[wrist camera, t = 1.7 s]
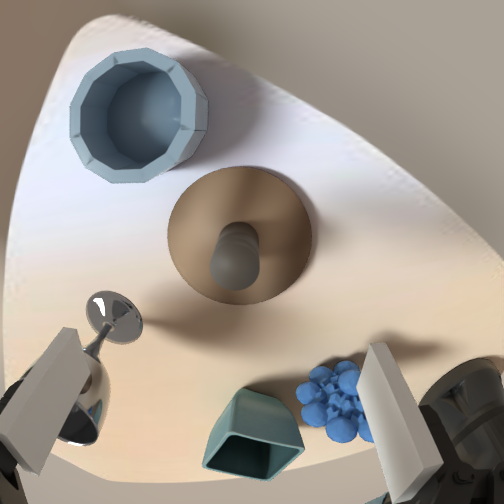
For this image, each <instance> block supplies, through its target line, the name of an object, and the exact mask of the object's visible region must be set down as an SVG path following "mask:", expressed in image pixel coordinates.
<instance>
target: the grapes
mask: <svg viewBox="0 0 504 504" xmlns="http://www.w3.org/2000/svg"><path fill="white" fill-rule="evenodd" d="M360 374H361V371H360V369H359V367H358V366H357V365H356V364H355V363H353V362H351V361H341V362H339V363H337V364H336V365H335V366H334V371H332V370H331V369H330V368H327V367H324V366H318V367H316V368H314V369H313V370H312V371H311V372H310V375H309V379H310V382H304V383H301V384H300V385H299V386H298V387H297V390H296V397H297V399H298V400H299V401H300V402H301V403H302V404H305V406H303V408H302V411H301V416H302V419H303V421H304V422H305V423H306V424H307V425H310V426H313V427H322V426H326V428H325V429H326V433H327V435H328V437H329V438H330V439H332V440H333V441H336V442H339V443H346V442H350V441H352V440H353V439H354V438H355V437H356V436H357V432H358V433H359V435H360V437H361V438H362V439H364V440H365V441H368V442H372V443H374V440H373V437H372V434H371V431H370V428H369V425H368V421H367V418H366V415H365V412H364V409H363V406H362V403H361V400H360V397H359V394H358V391H357V388H356V386H357V384H358V381H359V377H360Z"/></svg>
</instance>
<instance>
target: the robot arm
mask: <svg viewBox="0 0 504 504" xmlns="http://www.w3.org/2000/svg"><path fill="white" fill-rule="evenodd" d="M89 375H90V370H89V367H88V364H87V361H86V358H85V355H84V352H83V349H82V345H81V342H80V339H79V335H78V332H77V329H73V328H66V327H63V328H62V330H61V331H60V332H59V333H58V335H57V336H56V337H55V339H54V340H53V341H52V343H51V344H50V345H49V346H48V348H47V349H46V350H45V352H44V353H43V354H42V356H41V357H40V358H39V360H38V361H37V363H36V364H35V365H34V367H33V368H32V369H31V371H30V372H29V374H28V375H27V376H26V378H25V379H24V381H23V382H20V381H17V382H15V383H14V384H13V385H11V386H10V387H9V388H8V390H7V391H6V392H5V394H4V397H2V398H1V400H0V504H28V503H27V500H26V497H25V493H24V490H23V487H22V484H21V481H20V477H19V473H18V471H17V469H16V468H15V467H16V465H17V463H18V464H19V465H20V466H21V467H22V468H23V469H24V470H25V471H27V472H29V473H32V474H34V475H36V476H39V475H40V473H41V470H42V468H43V466H44V464H45V461H46V459H47V457H48V455H49V453H50V451H51V449H52V447H53V445H54V443H55V441H56V438H57V436H58V434H59V432H60V430H61V428H62V426H63V424H64V422H65V420H66V418H67V416H68V414H69V413H70V411H71V409H72V407H73V405H74V403H75V401H76V399H77V397H78V395H79V393H80V392H81V390H82V388H83V386H84V384H85V382H86V380H87V379H88V377H89ZM356 388H357V391H358V394H359V397H360V400H361V403H362V406H363V409H364V412H365V415H366V418H367V421H368V425H369V428H370V431H371V434H372V437H373V440H374V443H375V447H376V450H377V453H378V456H379V460H380V463H381V466H382V470H383V473H384V476H385V480H386V483H387V486H388V490H389V491H388V492H387V493H385V494H384V495H382V496H380V497H378V498H376V499H374V500H371V501H369V502H367V503H365V504H504V389H503V385H502V383H501V375H500V373H499V371H498V369H497V368H496V367H495V365H494V364H493V363H492V362H491V361H490V360H487V359H475V360H472V361H469V362H466V363H464V364H462V365H460V366H458V367H456V368H455V369H453V370H452V371H450V372H449V373H447V374H446V375H445V376H443V377H442V378H441V379H440V380H439V381H437V382H436V383H435V384H434V385H433V386H432V387H431V388H430V389H429V391H428V392H427V393H426V394H425V396H424V397H423V398H422V400H421V402H420V403H419V405H417V403H416V401H415V399H414V397H413V395H412V393H411V391H410V389H409V387H408V385H407V383H406V381H405V379H404V377H403V375H402V373H401V371H400V369H399V367H398V366H397V364H396V362H395V360H394V358H393V356H392V354H391V352H390V350H389V348H388V346H387V345H386V343H370V345H369V348H368V352H367V355H366V358H365V362H364V365H363V368H362V371H361V374H360V377H359V381H358V384H357V386H356Z"/></svg>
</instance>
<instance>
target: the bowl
mask: <svg viewBox="0 0 504 504" xmlns="http://www.w3.org/2000/svg"><path fill="white" fill-rule="evenodd" d="M70 105H71V106H70V138H71V139H70V140H71V142H72V144H73V146H74V148H75V150H76V152H77V154H78V156H79V158H80V159H81V161H82V163H83V165H84V167H85V168H87V169H88V170H90V171H92V172H93V173H95V174H97V175H98V176H100V177H102V178H103V179H105V180H107V181H108V182H110V183H145V182H147V181H149V180H151V179H153V178H155V177H157V176H159V175H161V174H163V173H165V172H167V171H168V170H170V169H172V168H173V167H175V166H177V165H178V164H180V163H182V162H183V161H185V160H187V159H189V158H190V157H191V156H192V155H193V154H194V152H195V150H196V149H197V147H198V145H199V144H200V142H201V140H202V139H203V137H204V135H205V134H206V132H207V129H208V99H207V97H206V95H205V94H204V92H203V90H202V88H201V87H200V85H199V83H198V82H197V80H196V78H195V76H194V75H193V74H191V73H190V72H189V71H188V70H187V69H186V68H185V67H183V66H182V65H181V64H180V63H179V62H177V61H175V60H173V59H171V58H169V57H167V56H165V55H163V54H160V53H158V52H156V51H154V50H152V49H149V48H141V49H134V50H127V51H120V52H114V53H112V54H111V55H110V56H108V57H107V58H106V59H104V60H103V61H101V62H100V63H99V64H98V65H96V66H95V67H94V68H92V69H91V70H90V71H88V72H87V73H86V74H85V76H84V78H83V80H82V82H81V84H80V86H79V87H78V89H77V92H76V94H75V96H74V98H73V100H72V102H71V104H70Z"/></svg>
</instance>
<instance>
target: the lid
mask: <svg viewBox="0 0 504 504" xmlns="http://www.w3.org/2000/svg"><path fill="white" fill-rule="evenodd" d="M167 238H168V247H169V251H170V255H171V258H172V260H173V263H174V265H175V267H176V269H177V270H178V272H179V273H180V275H181V276H182V278H183V279H184V280H185V281H186V282H187V283H188V284H189V285H190V286H191V287H192V288H194V289H195V290H196V291H198V292H199V293H201V294H202V295H204V296H206V297H208V298H210V299H212V300H215V301H218V302H222V303H226V304H233V305H248V304H255V303H259V302H263V301H266V300H269V299H271V298H273V297H275V296H277V295H279V294H280V293H282V292H283V291H285V290H286V289H287V288H288V287H289V286H290V285H292V284H293V283H294V281H295V280H296V279H297V278H298V277H299V275H300V274H301V272H302V271H303V269H304V267H305V265H306V263H307V260H308V257H309V254H310V249H311V238H312V235H311V226H310V222H309V218H308V215H307V212H306V210H305V208H304V206H303V204H302V202H301V201H300V199H299V198H298V196H297V195H296V194H295V192H294V191H293V190H292V189H291V188H290V187H289V186H288V185H287V184H286V183H284V182H283V181H282V180H280V179H279V178H277V177H275V176H274V175H272V174H270V173H267V172H265V171H262V170H259V169H254V168H249V167H229V168H223V169H220V170H216V171H213V172H211V173H209V174H207V175H204V176H203V177H201V178H200V179H198V180H197V181H195V182H194V183H193V184H192V185H191V186H190V187H188V188H187V189H186V190H185V192H184V193H183V194H182V195H181V196H180V198H179V199H178V201H177V202H176V204H175V206H174V208H173V210H172V213H171V216H170V219H169V225H168V237H167Z"/></svg>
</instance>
